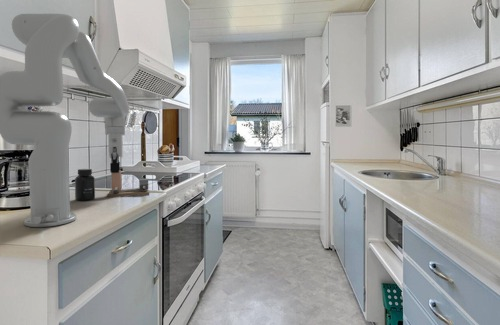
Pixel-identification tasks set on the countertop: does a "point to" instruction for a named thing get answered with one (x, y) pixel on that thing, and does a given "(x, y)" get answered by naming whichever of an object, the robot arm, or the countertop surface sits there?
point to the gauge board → (132, 190)
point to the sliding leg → (116, 181)
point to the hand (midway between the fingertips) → (115, 171)
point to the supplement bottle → (84, 185)
